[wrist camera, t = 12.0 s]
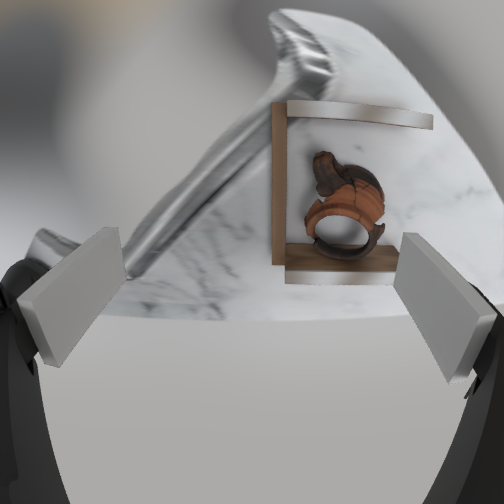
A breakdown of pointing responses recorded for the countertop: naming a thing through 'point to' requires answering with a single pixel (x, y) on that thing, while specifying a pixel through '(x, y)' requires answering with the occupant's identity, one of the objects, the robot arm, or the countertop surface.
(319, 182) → the pottery mug
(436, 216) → the countertop surface
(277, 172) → the wooden stand
